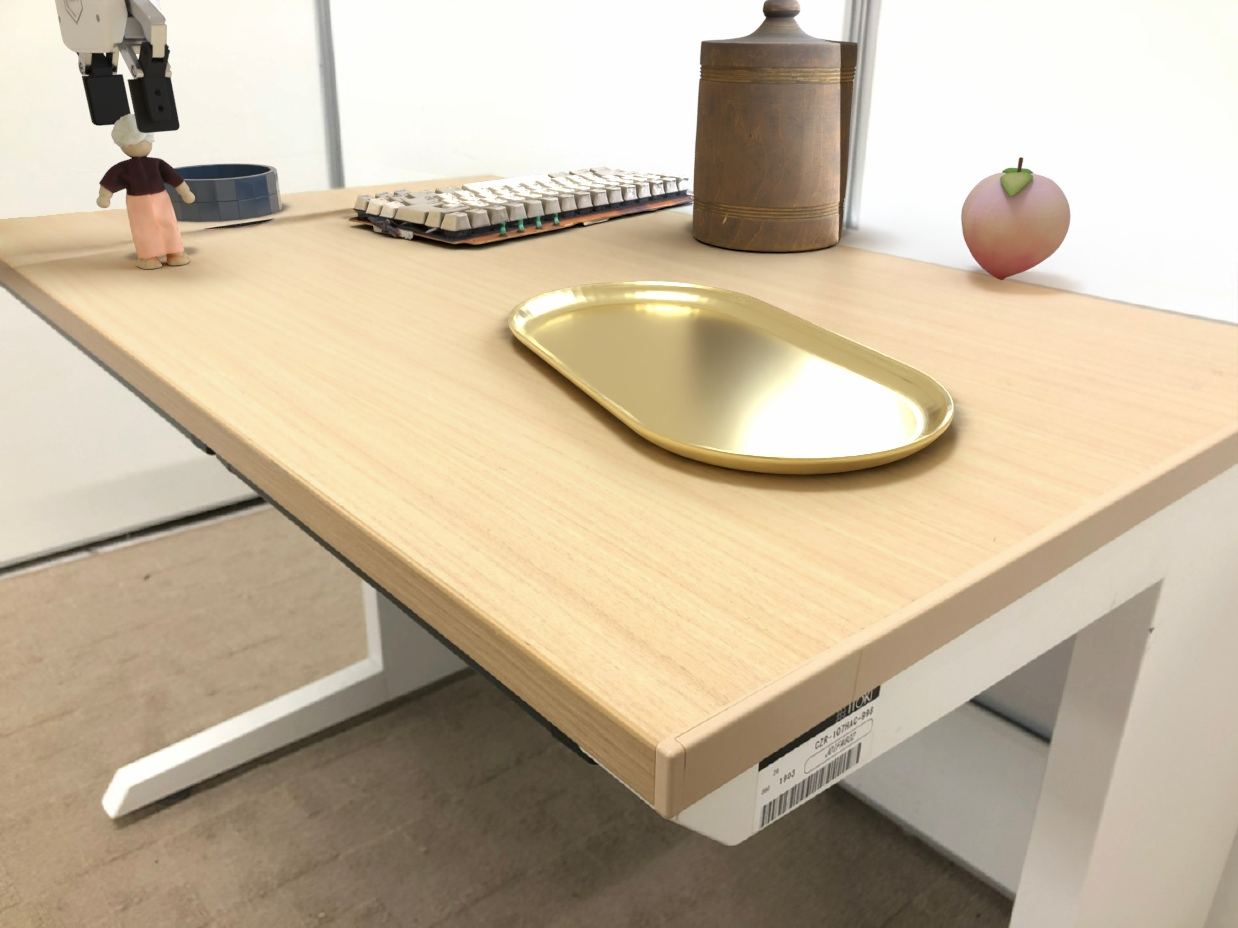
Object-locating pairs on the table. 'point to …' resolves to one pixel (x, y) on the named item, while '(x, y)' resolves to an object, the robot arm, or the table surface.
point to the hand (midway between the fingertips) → (135, 127)
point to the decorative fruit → (1014, 221)
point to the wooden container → (773, 137)
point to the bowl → (227, 193)
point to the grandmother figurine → (146, 196)
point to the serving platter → (733, 377)
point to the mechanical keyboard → (519, 204)
